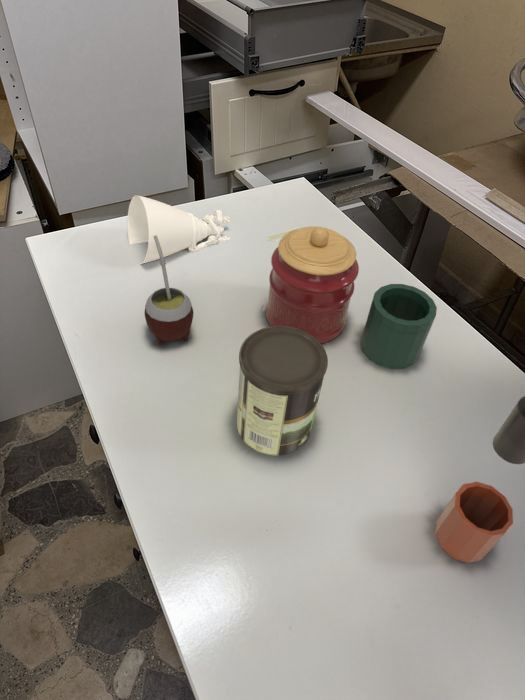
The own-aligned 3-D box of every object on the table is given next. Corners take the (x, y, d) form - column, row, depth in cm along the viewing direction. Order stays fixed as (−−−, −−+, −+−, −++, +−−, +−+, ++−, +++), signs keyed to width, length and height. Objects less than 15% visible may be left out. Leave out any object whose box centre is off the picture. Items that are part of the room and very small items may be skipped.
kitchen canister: (341, 298, 90) (362, 207, 78) (347, 352, 81) (372, 260, 69) (266, 292, 90) (275, 200, 77) (264, 346, 81) (273, 252, 68)
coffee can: (308, 398, 74) (323, 326, 64) (314, 461, 67) (332, 391, 57) (235, 396, 74) (239, 323, 64) (234, 459, 67) (238, 388, 57)
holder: (484, 524, 63) (512, 491, 57) (484, 572, 59) (514, 542, 53) (434, 509, 64) (456, 475, 58) (430, 556, 60) (454, 524, 54)
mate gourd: (177, 360, 78) (172, 281, 67) (133, 341, 80) (121, 261, 69) (204, 331, 82) (202, 252, 72) (162, 313, 85) (155, 234, 74)
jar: (419, 340, 84) (438, 292, 77) (413, 379, 78) (434, 332, 71) (364, 326, 86) (378, 277, 79) (354, 364, 80) (369, 315, 73)
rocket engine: (238, 188, 95) (142, 184, 86) (249, 250, 94) (152, 253, 85) (212, 210, 105) (123, 209, 96) (222, 267, 104) (133, 271, 95)
